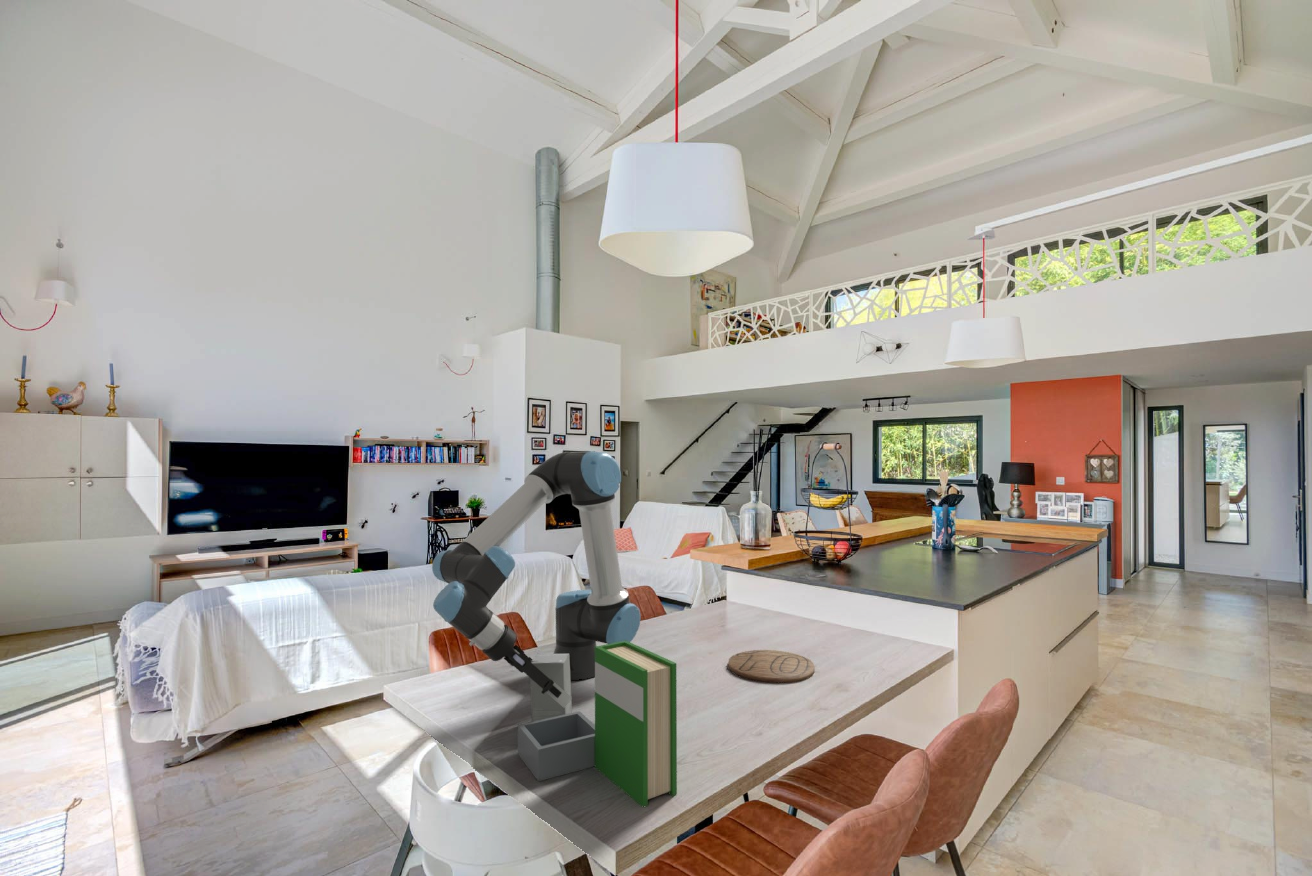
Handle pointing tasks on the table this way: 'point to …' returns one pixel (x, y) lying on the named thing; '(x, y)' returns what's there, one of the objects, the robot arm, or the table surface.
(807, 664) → the trivet
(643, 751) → the hardback book
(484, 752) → the table surface
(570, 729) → the bin
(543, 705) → the skincare box
